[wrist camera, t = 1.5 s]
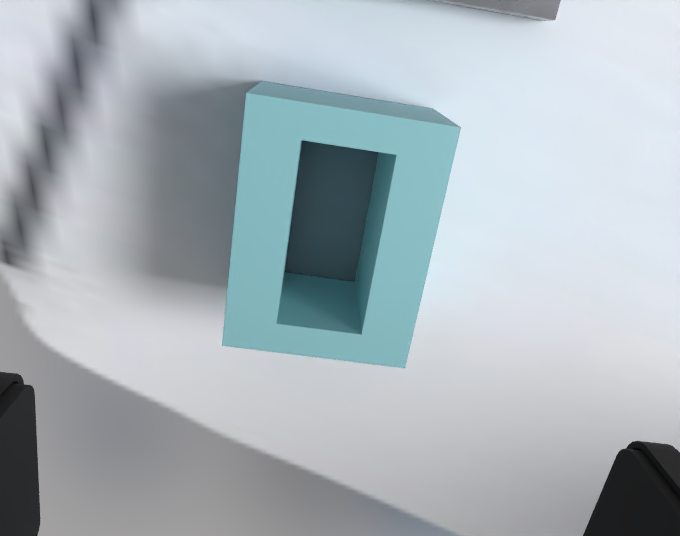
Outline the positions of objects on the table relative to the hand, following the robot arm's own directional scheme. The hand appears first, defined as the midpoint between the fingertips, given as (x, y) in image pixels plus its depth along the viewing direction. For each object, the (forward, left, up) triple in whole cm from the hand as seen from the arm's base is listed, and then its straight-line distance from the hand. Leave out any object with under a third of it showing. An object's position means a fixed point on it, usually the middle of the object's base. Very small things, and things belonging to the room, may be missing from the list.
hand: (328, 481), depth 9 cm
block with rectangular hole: (0, 0, -17) cm, 17 cm away
